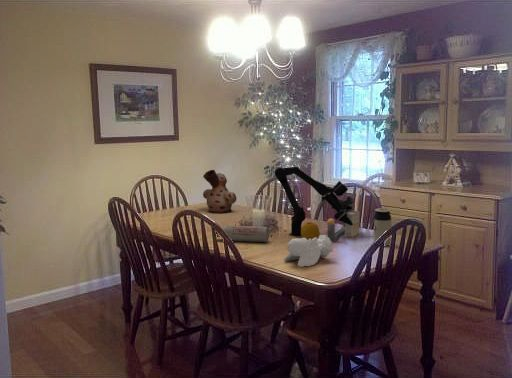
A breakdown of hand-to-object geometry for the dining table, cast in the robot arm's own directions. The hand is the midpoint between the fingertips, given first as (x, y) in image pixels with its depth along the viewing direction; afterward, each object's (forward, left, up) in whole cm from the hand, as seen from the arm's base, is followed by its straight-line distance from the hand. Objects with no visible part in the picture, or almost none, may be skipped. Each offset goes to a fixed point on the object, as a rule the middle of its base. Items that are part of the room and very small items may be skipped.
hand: (354, 223), depth 262 cm
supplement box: (0, +2, -7) cm, 7 cm away
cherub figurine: (-53, +7, -7) cm, 54 cm away
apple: (-25, +17, -7) cm, 31 cm away
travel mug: (-13, -17, -7) cm, 23 cm away
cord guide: (0, +9, -7) cm, 11 cm away
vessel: (+34, +106, -7) cm, 111 cm away
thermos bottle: (-29, +39, -3) cm, 48 cm away
